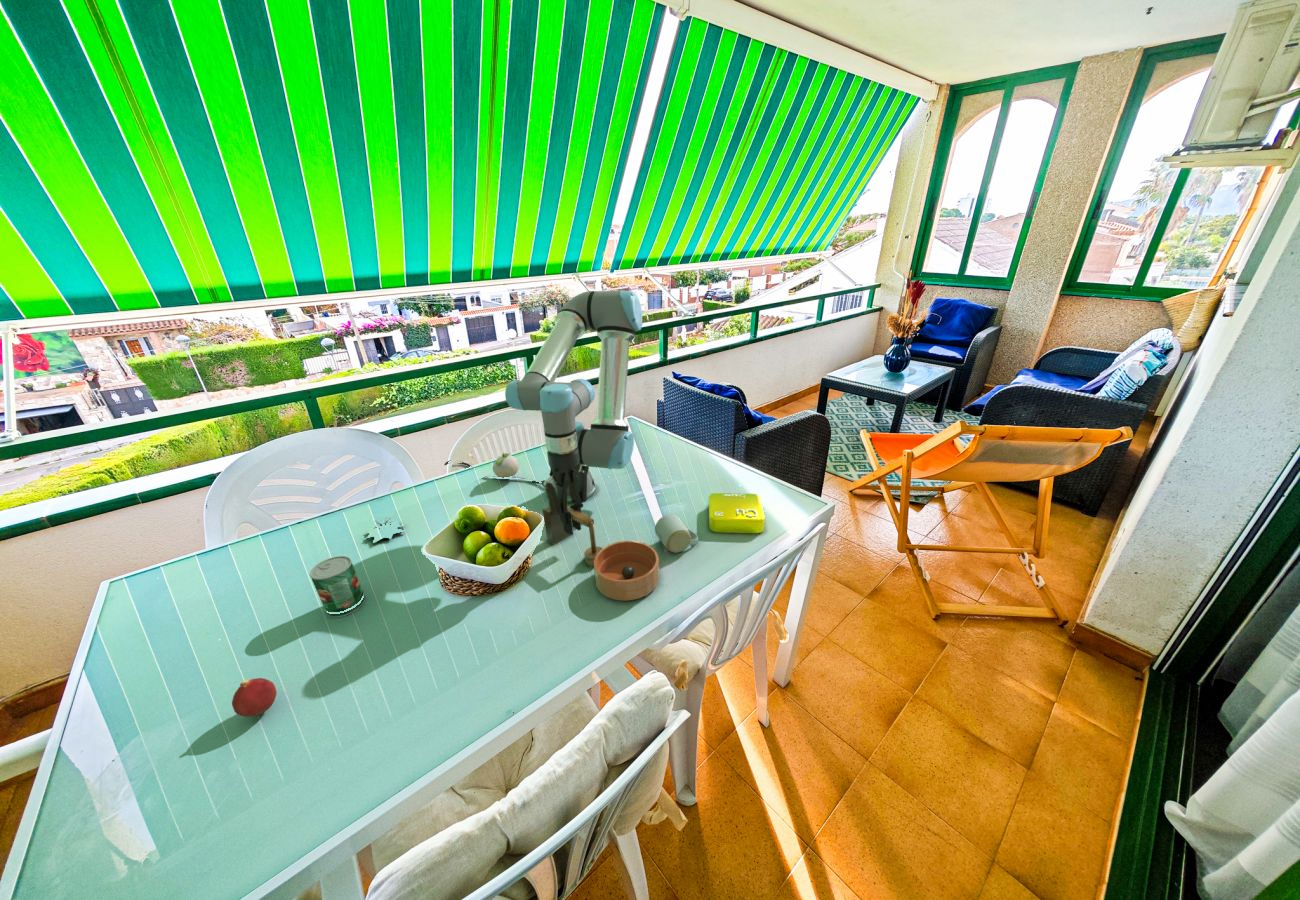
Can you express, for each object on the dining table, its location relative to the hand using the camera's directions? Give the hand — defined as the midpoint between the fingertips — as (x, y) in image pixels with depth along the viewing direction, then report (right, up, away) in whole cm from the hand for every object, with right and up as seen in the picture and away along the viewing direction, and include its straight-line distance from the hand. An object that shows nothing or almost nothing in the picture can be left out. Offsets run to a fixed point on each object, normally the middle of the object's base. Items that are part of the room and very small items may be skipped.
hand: (572, 530), depth 120 cm
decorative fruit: (-29, +11, +41) cm, 51 cm away
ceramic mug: (+28, -4, +2) cm, 28 cm away
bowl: (+15, -10, -10) cm, 21 cm away
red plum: (-49, -26, -39) cm, 67 cm away
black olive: (+15, -8, -11) cm, 20 cm away
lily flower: (-56, -3, +12) cm, 57 cm away
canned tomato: (-50, -15, -14) cm, 54 cm away
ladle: (+1, -5, +1) cm, 6 cm away
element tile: (+45, +1, +12) cm, 47 cm away
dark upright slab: (-5, -3, +7) cm, 9 cm away
